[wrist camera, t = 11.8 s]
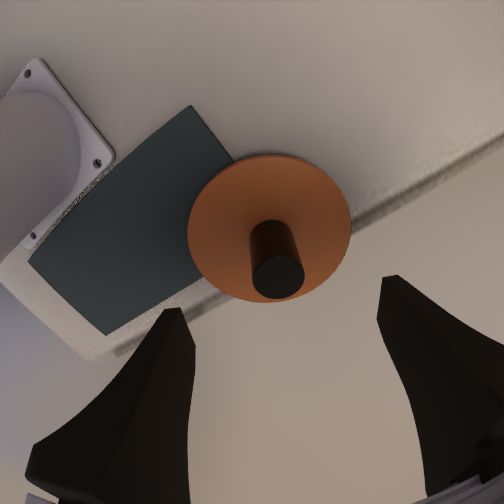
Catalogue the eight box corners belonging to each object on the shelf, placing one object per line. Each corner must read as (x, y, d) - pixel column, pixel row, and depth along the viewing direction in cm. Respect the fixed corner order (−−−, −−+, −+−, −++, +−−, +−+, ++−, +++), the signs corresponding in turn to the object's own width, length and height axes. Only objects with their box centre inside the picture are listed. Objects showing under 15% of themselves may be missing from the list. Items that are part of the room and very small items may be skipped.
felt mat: (107, 332, 21) (105, 336, 21) (30, 258, 17) (27, 261, 17) (281, 226, 17) (282, 229, 17) (190, 104, 13) (189, 105, 13)
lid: (208, 299, 19) (203, 355, 15) (173, 167, 15) (150, 201, 11) (344, 279, 19) (366, 331, 15) (342, 142, 14) (379, 168, 10)
